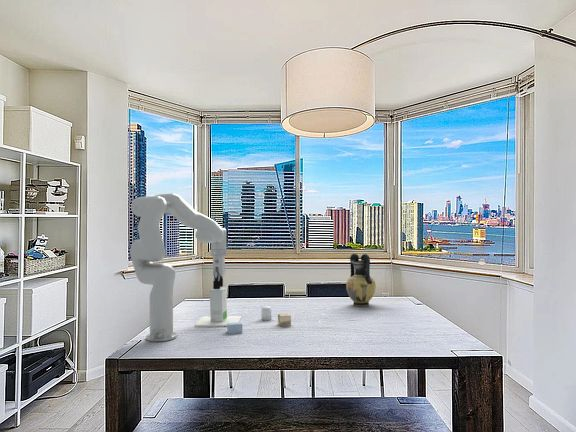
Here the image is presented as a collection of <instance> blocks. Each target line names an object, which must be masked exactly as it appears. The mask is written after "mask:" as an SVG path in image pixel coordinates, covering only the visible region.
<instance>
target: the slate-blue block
mask: <svg viewBox="0 0 576 432" xmlns="http://www.w3.org/2000/svg"><path fill="white" fill-rule="evenodd" d="M226 328H227V333H228V334H230V333H232V334H240V333H241V334H243V322H242V321H240V322H233V323H227V326H226Z"/></svg>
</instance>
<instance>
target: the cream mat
mask: <svg viewBox="0 0 576 432" xmlns="http://www.w3.org/2000/svg"><path fill="white" fill-rule="evenodd" d="M241 319H242V315H227V319H225V320H224V321H223V322H211V320H210V315H209V316H206V315H205V316H204V315H203V316H201V317H200V318H199V320H197V322H196V323H195V324H194V328H200V327H201V328H203V327H204V328H206V327H207V328H213V327H214V328H215V327H219V328H220V327H222V328H223V327H224V326H225V327H226V328H227V323H233V322H241ZM225 327H224V328H225Z"/></svg>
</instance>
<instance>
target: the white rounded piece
mask: <svg viewBox="0 0 576 432" xmlns="http://www.w3.org/2000/svg"><path fill="white" fill-rule="evenodd" d="M260 308H261V309H260V310H261V312H260V313H261V318H260V319H261V321H271V320H272V306H269V305H267V306H261V307H260Z"/></svg>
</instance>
